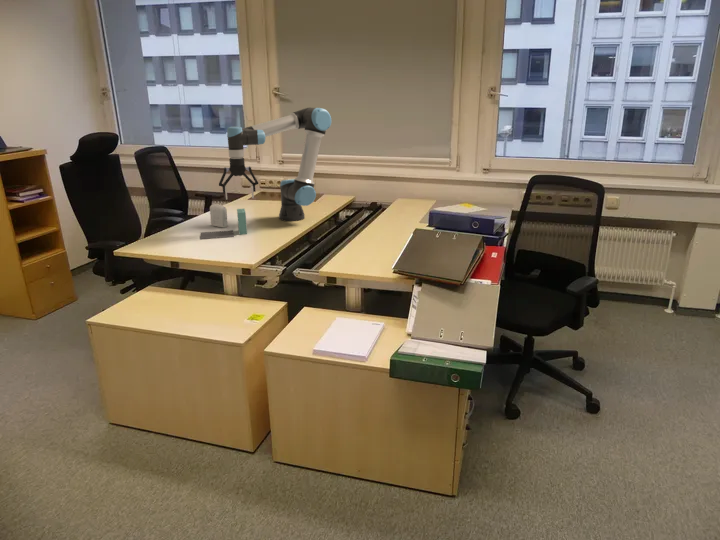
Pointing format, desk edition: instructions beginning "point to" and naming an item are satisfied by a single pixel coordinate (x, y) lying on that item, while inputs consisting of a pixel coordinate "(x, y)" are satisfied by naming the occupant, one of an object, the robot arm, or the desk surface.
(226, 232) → the mat
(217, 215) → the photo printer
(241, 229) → the block
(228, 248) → the desk surface
